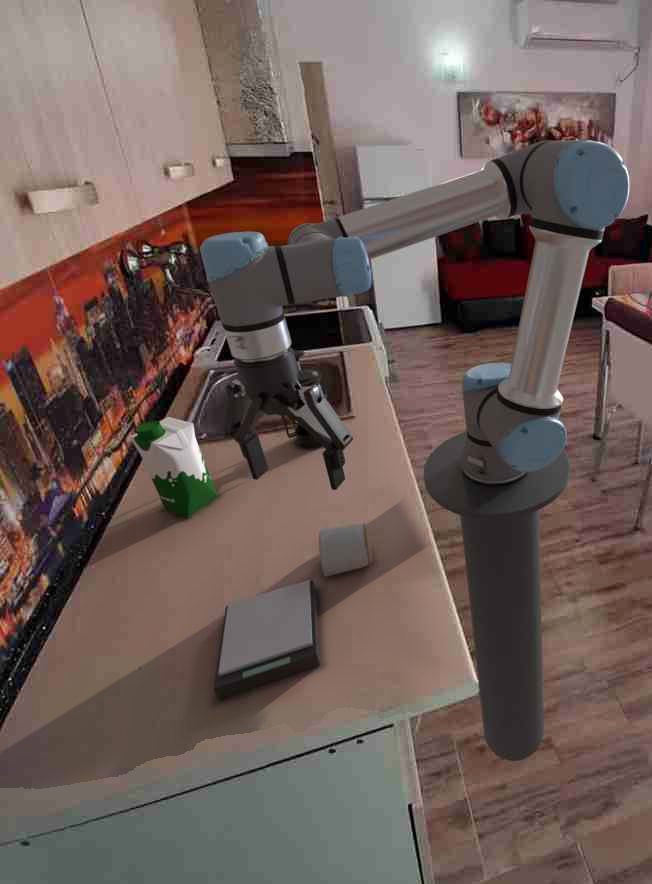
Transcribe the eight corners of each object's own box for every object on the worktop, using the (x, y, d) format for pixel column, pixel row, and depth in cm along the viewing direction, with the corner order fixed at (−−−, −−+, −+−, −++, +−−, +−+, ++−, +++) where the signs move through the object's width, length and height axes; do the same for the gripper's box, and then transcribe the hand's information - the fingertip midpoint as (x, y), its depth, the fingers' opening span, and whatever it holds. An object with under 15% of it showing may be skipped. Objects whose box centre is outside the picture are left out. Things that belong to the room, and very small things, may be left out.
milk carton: (157, 511, 104) (120, 428, 95) (197, 485, 111) (165, 405, 102) (186, 522, 100) (150, 436, 91) (225, 494, 108) (195, 412, 99)
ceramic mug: (376, 573, 86) (368, 538, 83) (326, 587, 84) (316, 552, 81) (370, 532, 95) (363, 499, 92) (325, 543, 93) (316, 510, 90)
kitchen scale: (316, 590, 84) (312, 576, 82) (320, 665, 72) (315, 651, 70) (230, 616, 80) (224, 603, 79) (219, 700, 68) (212, 685, 67)
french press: (331, 422, 132) (312, 340, 122) (344, 438, 125) (325, 352, 115) (285, 439, 126) (261, 354, 116) (296, 456, 119) (271, 367, 109)
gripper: (165, 358, 68) (213, 485, 78) (330, 369, 62) (360, 505, 72) (206, 337, 75) (246, 456, 84) (359, 345, 69) (384, 473, 78)
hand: (299, 479), depth 78 cm, fingers open, 13 cm apart
